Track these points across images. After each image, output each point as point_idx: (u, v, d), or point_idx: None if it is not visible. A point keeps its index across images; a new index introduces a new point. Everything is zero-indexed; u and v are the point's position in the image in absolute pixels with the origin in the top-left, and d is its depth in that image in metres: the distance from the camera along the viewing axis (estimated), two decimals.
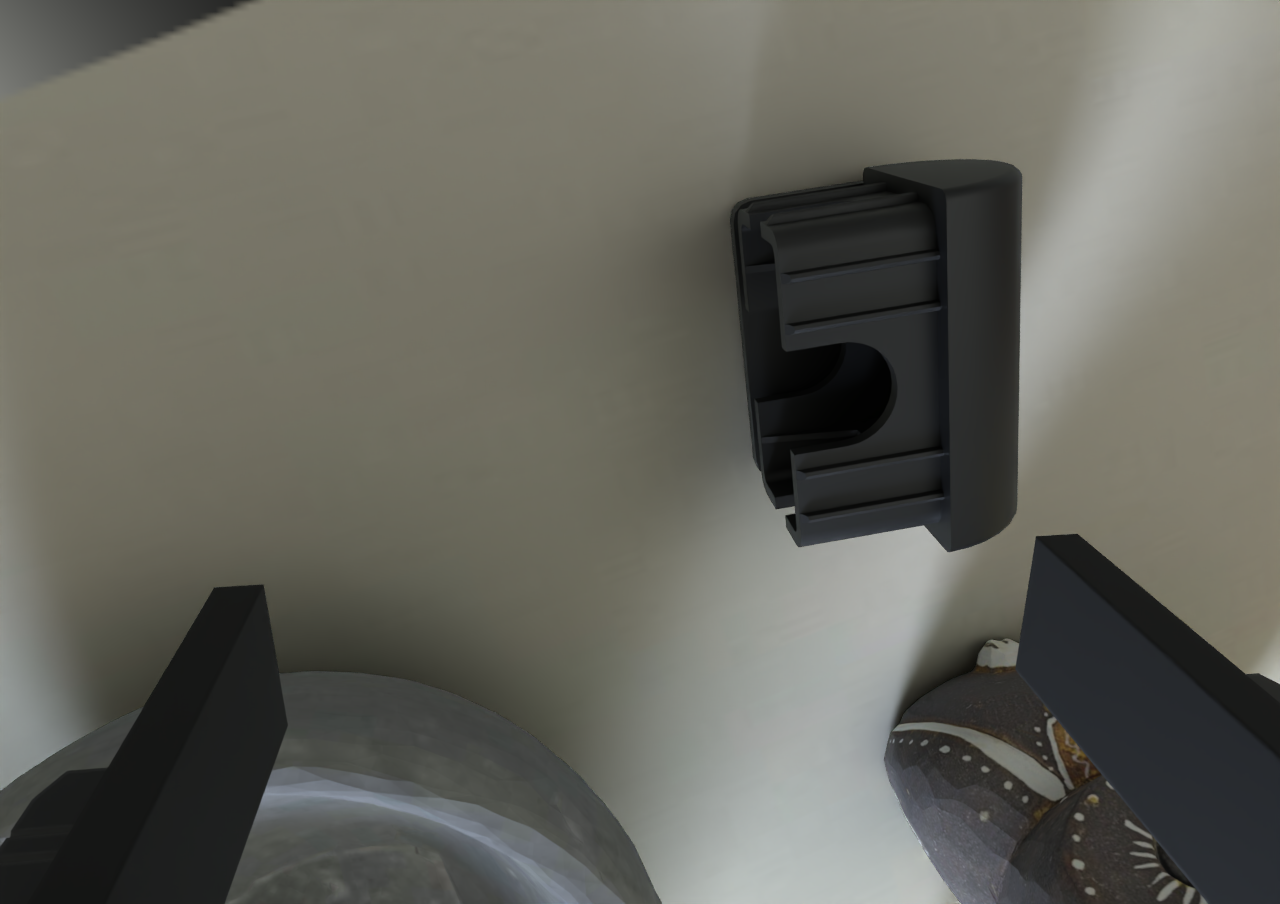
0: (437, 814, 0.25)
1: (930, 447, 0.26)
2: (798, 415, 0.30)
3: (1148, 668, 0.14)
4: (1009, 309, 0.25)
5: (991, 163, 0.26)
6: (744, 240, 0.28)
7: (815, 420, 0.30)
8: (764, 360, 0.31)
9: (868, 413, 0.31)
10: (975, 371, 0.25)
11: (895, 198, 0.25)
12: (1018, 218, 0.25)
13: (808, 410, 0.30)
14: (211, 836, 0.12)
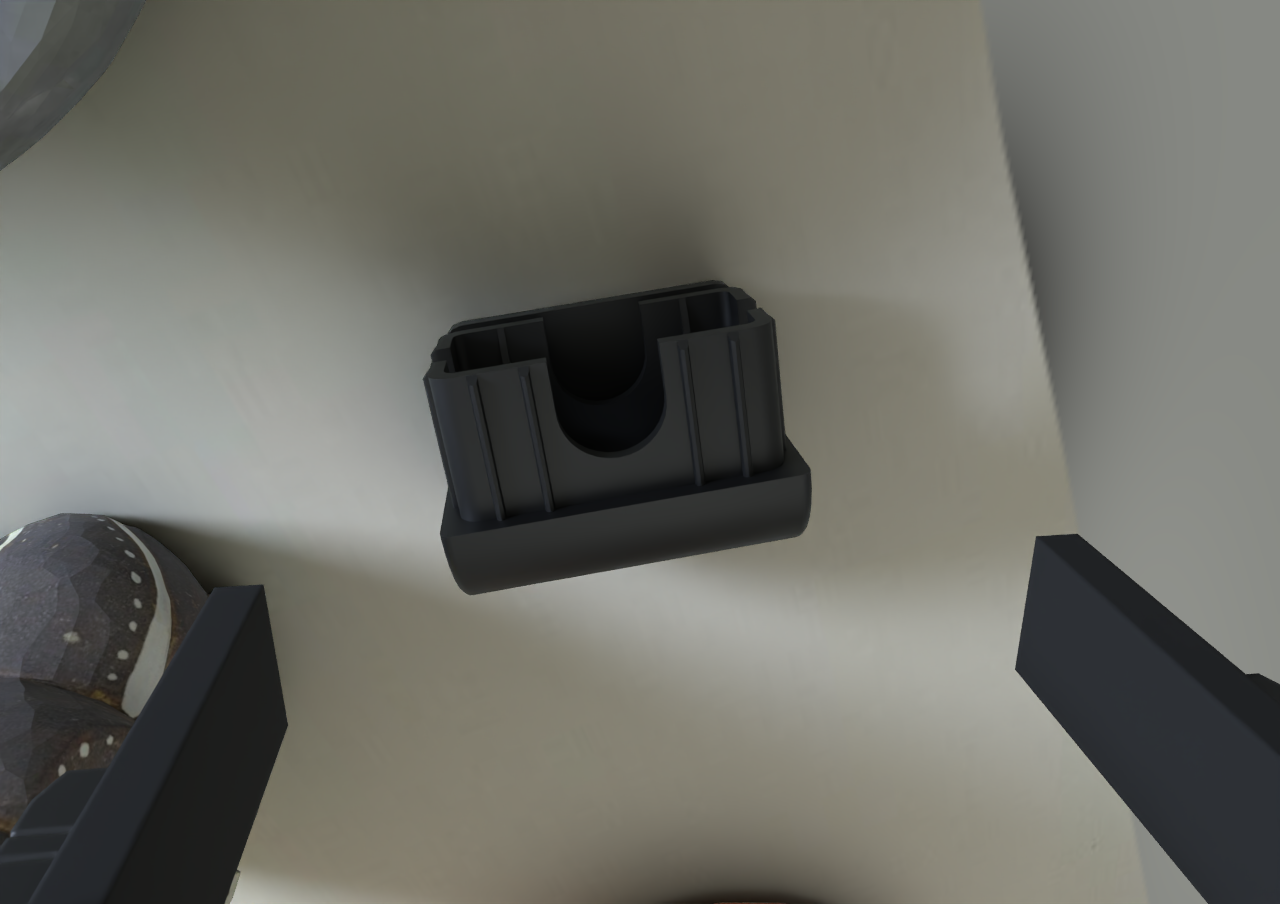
0: None
1: (554, 498, 0.26)
2: None
3: (1148, 668, 0.14)
4: (691, 547, 0.27)
5: None
6: (710, 295, 0.29)
7: None
8: (576, 325, 0.30)
9: None
10: (641, 527, 0.26)
11: (783, 430, 0.27)
12: (767, 540, 0.28)
13: None
14: (211, 836, 0.12)
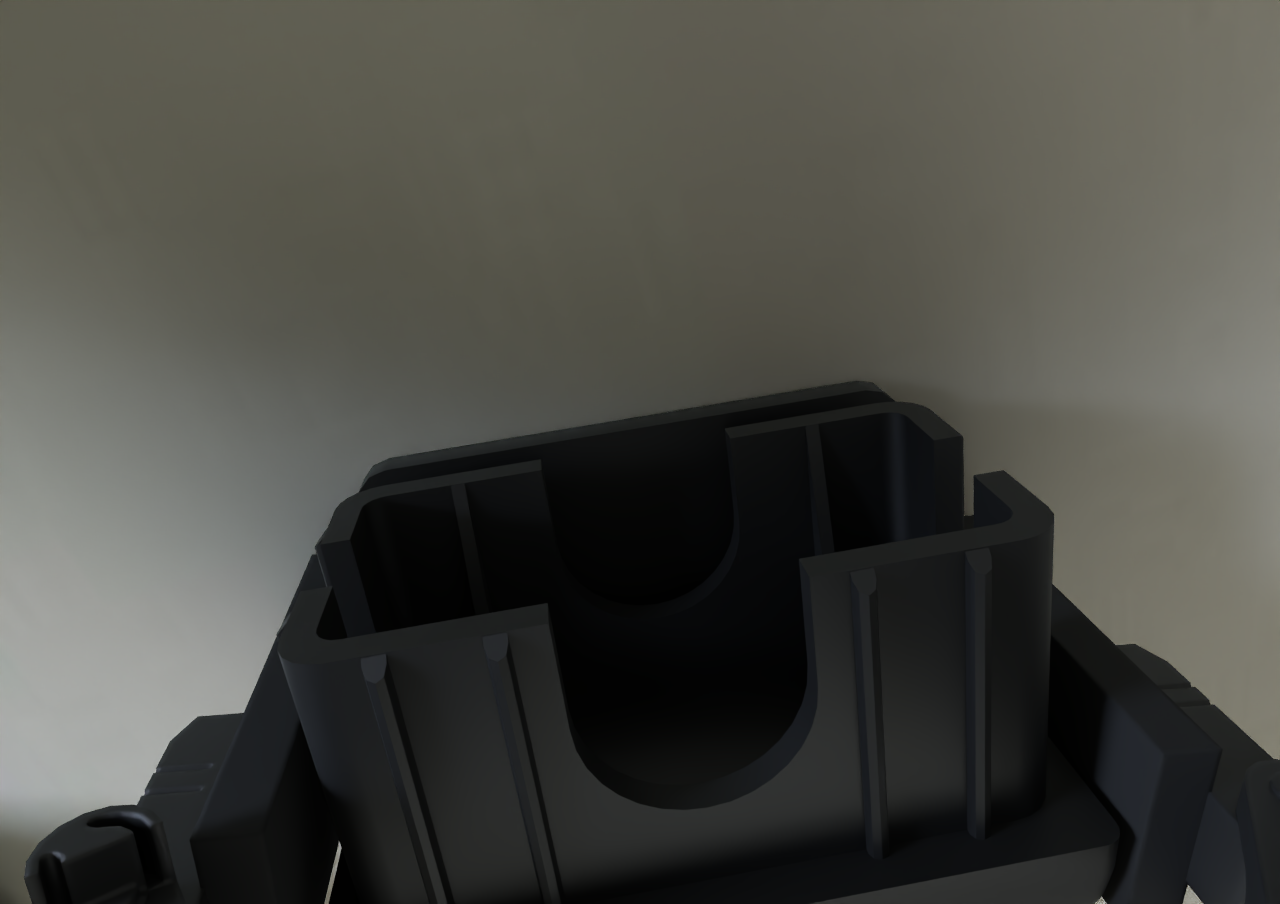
0: None
1: (564, 891, 0.12)
2: (514, 550, 0.15)
3: None
4: None
5: None
6: (865, 419, 0.15)
7: (504, 583, 0.15)
8: (605, 466, 0.16)
9: None
10: None
11: None
12: None
13: (525, 568, 0.15)
14: None
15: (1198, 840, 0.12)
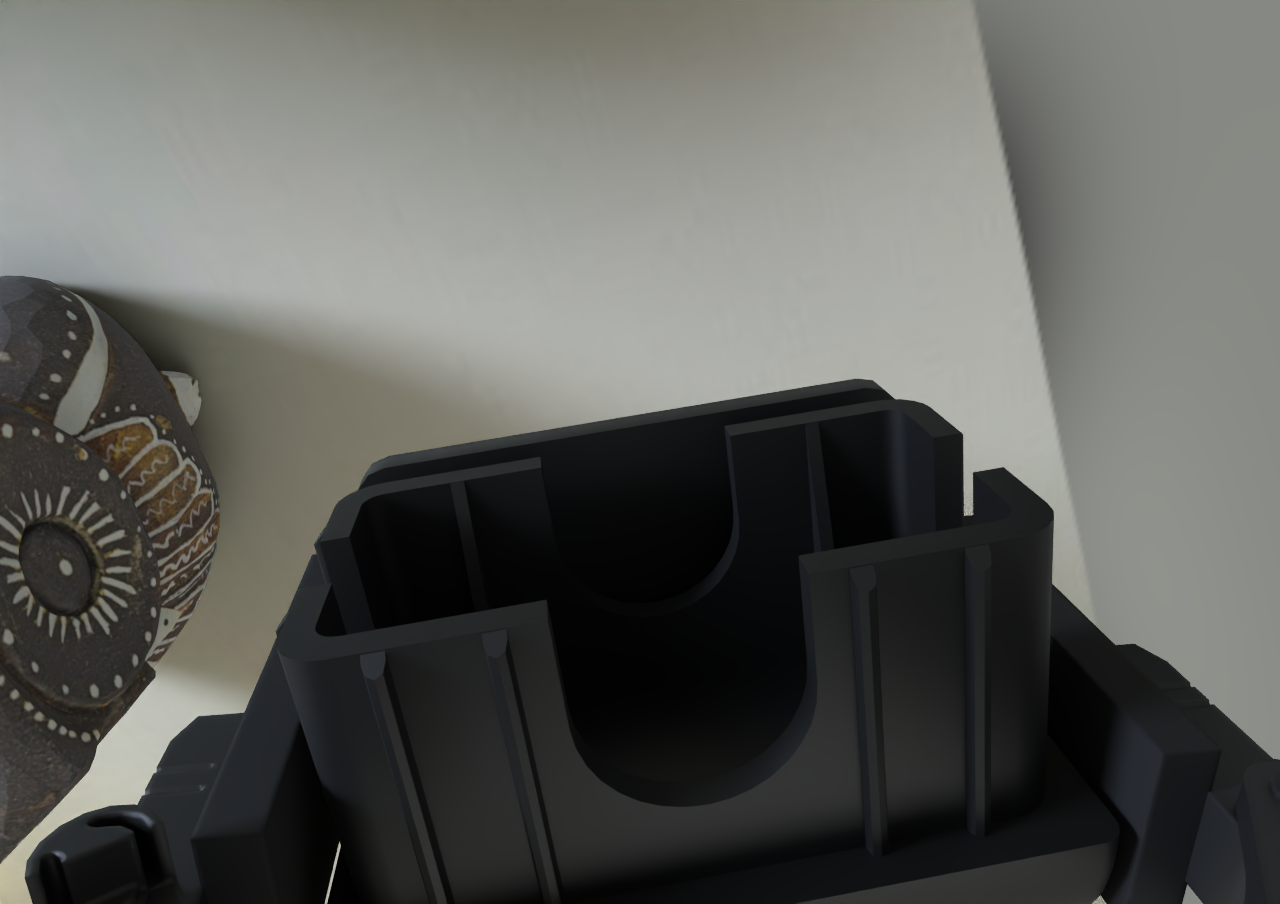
0: None
1: (563, 888, 0.12)
2: (514, 548, 0.15)
3: None
4: None
5: None
6: (865, 416, 0.15)
7: (503, 580, 0.15)
8: (604, 464, 0.16)
9: None
10: None
11: None
12: None
13: (525, 565, 0.15)
14: None
15: (1197, 840, 0.12)
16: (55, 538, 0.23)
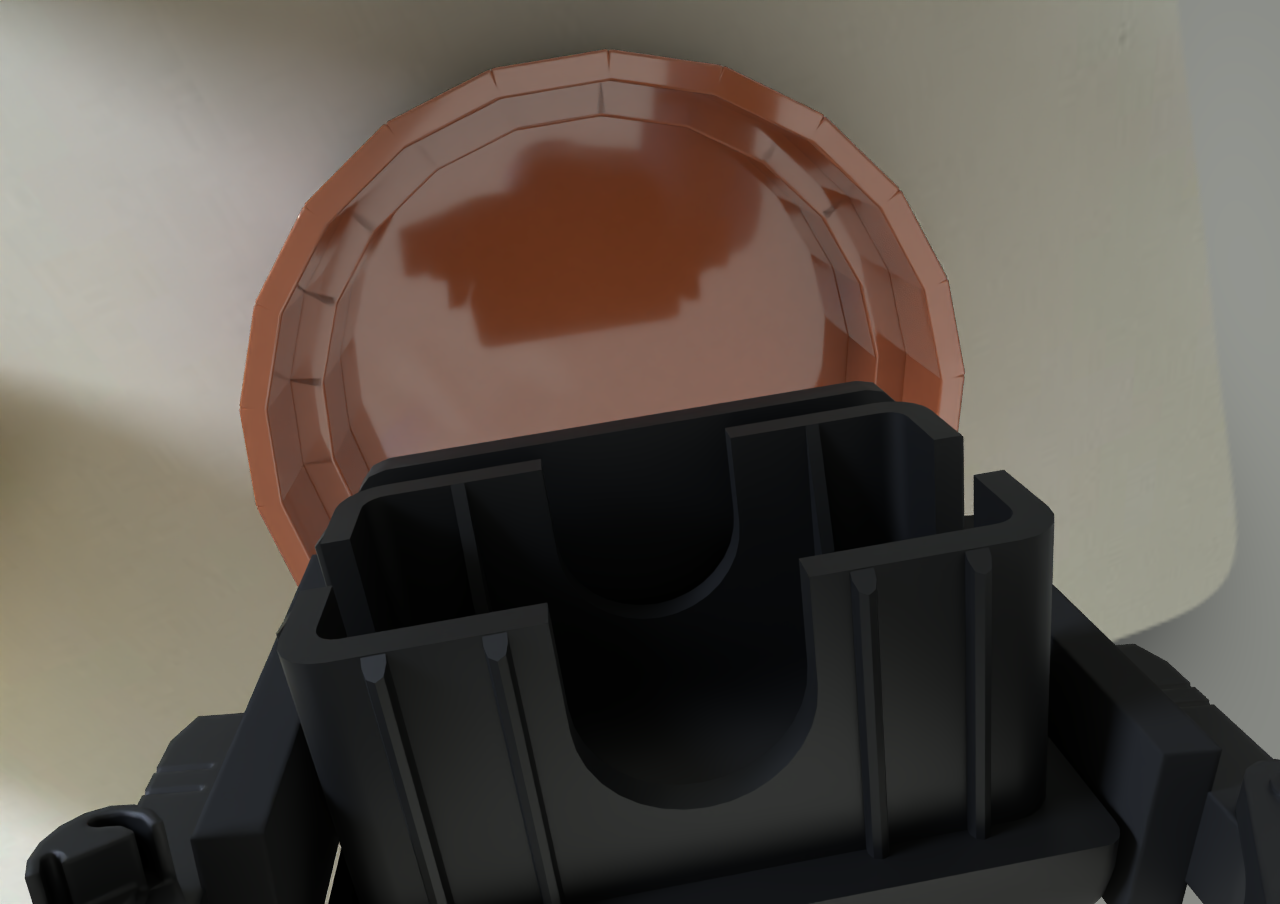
0: None
1: (564, 891, 0.12)
2: (514, 550, 0.15)
3: None
4: None
5: None
6: (866, 418, 0.15)
7: (504, 582, 0.15)
8: (605, 466, 0.16)
9: None
10: None
11: None
12: None
13: (525, 567, 0.15)
14: None
15: (1197, 840, 0.12)
16: None
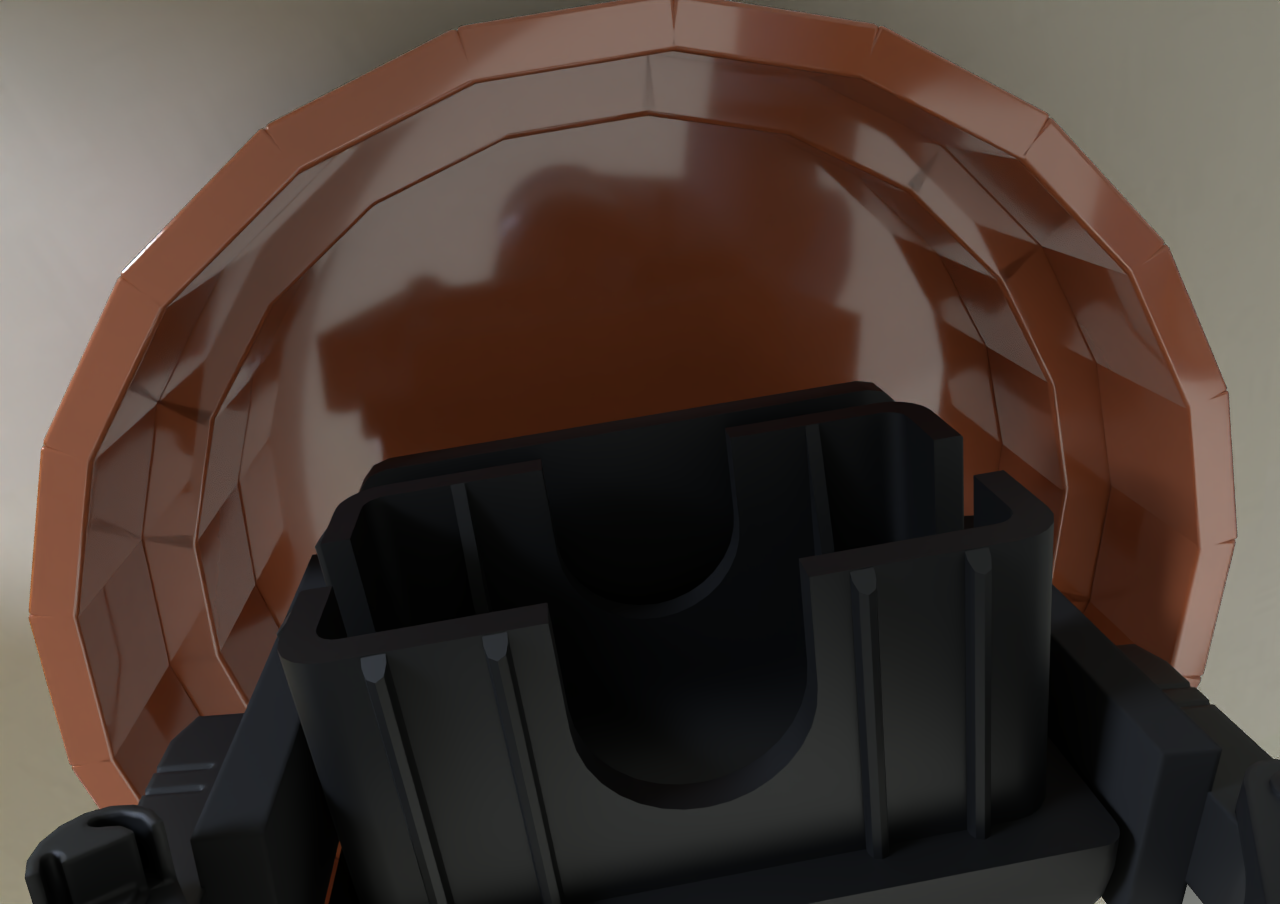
0: None
1: (564, 890, 0.12)
2: (514, 550, 0.15)
3: None
4: None
5: None
6: (865, 419, 0.15)
7: (504, 582, 0.15)
8: (605, 466, 0.16)
9: None
10: None
11: None
12: None
13: (525, 567, 0.15)
14: None
15: (1198, 840, 0.12)
16: None
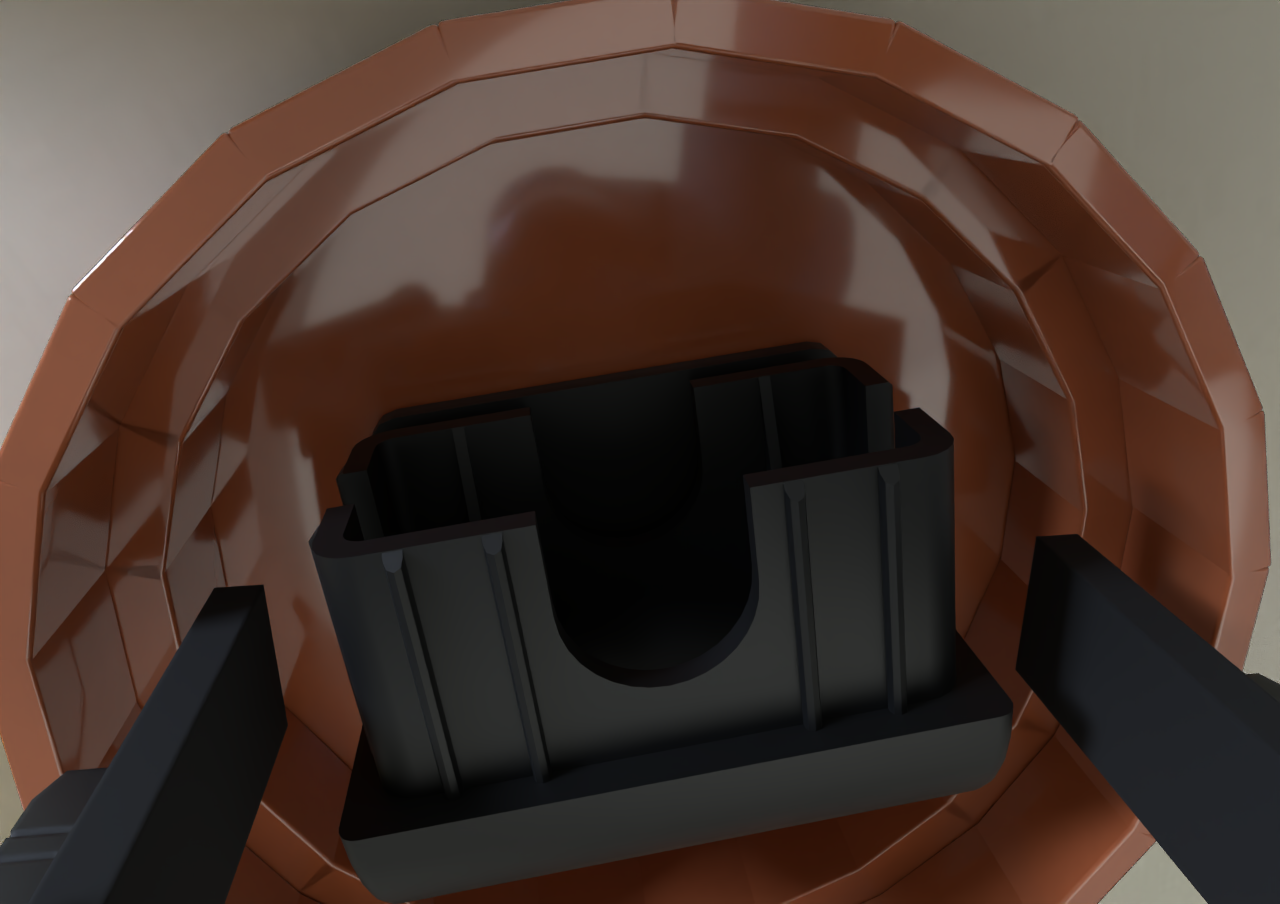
0: None
1: (550, 757, 0.14)
2: (507, 486, 0.17)
3: (1148, 668, 0.14)
4: (790, 825, 0.15)
5: None
6: (811, 371, 0.17)
7: (498, 515, 0.17)
8: (586, 415, 0.18)
9: None
10: (707, 809, 0.14)
11: None
12: None
13: (516, 501, 0.17)
14: (211, 836, 0.12)
15: None
16: None
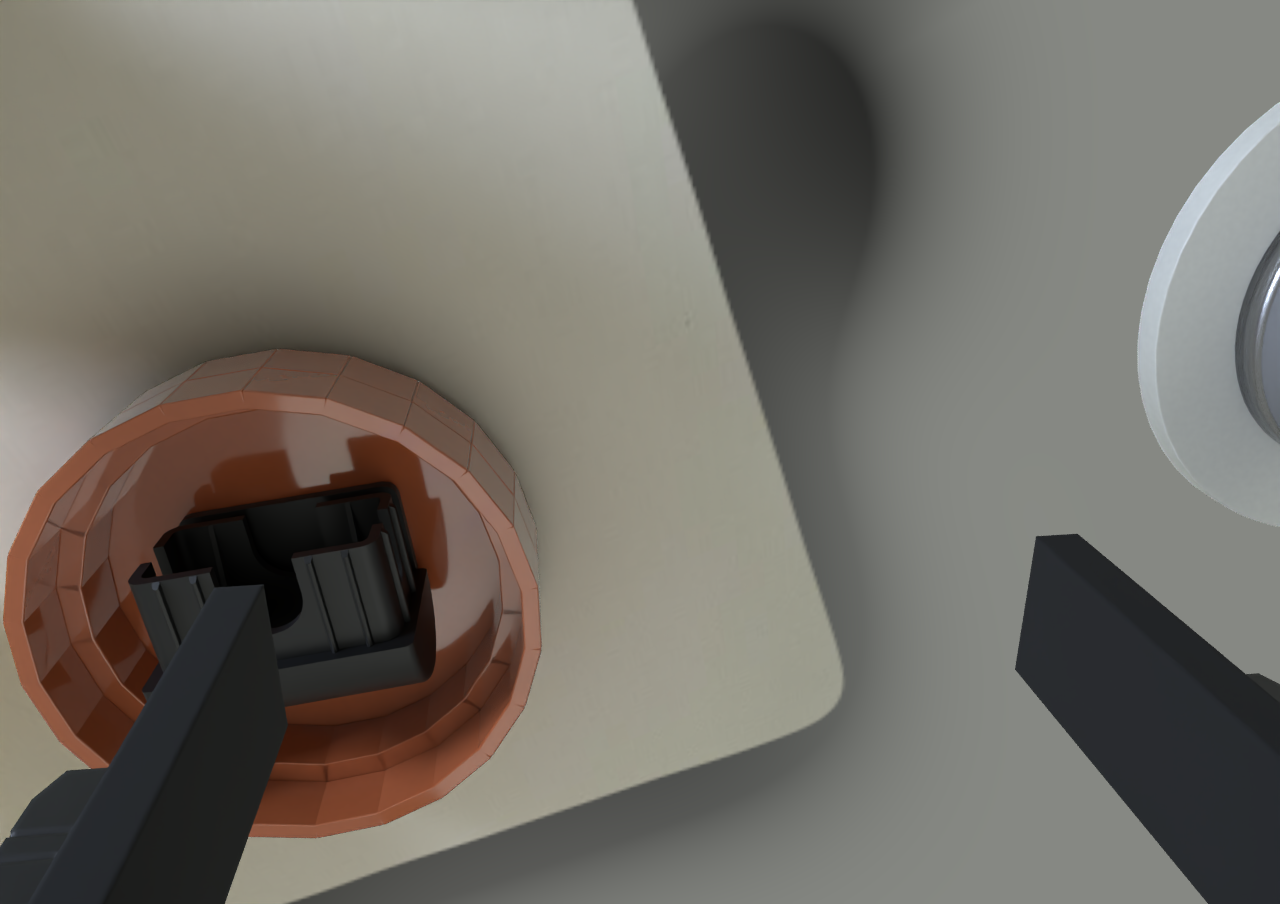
0: None
1: None
2: (235, 550, 0.39)
3: (1148, 668, 0.14)
4: (337, 694, 0.37)
5: (433, 657, 0.39)
6: (368, 499, 0.39)
7: (232, 562, 0.39)
8: (276, 516, 0.40)
9: None
10: (290, 683, 0.36)
11: (405, 608, 0.37)
12: (398, 685, 0.38)
13: (240, 556, 0.39)
14: (211, 836, 0.12)
15: None
16: None
